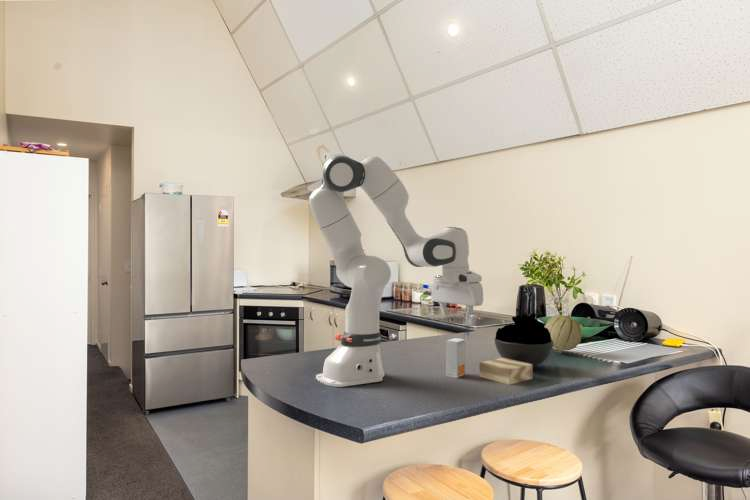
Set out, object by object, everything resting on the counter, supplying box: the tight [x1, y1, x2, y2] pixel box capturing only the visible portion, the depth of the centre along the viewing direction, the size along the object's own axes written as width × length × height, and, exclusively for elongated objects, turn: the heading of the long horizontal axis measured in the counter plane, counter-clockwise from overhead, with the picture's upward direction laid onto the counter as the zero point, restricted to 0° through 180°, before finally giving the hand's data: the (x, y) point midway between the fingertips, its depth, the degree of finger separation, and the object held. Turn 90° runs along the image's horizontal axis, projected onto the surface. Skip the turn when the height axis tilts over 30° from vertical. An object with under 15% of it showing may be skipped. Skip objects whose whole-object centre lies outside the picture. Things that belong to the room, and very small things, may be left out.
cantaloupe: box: [544, 313, 583, 351], centre depth 202 cm, size 15×15×15 cm
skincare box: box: [445, 337, 466, 379], centre depth 162 cm, size 6×4×12 cm
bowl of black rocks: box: [494, 312, 554, 368], centre depth 173 cm, size 20×20×19 cm
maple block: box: [479, 357, 534, 385], centre depth 159 cm, size 12×12×5 cm
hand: (456, 317), depth 162 cm, fingers open, 8 cm apart
